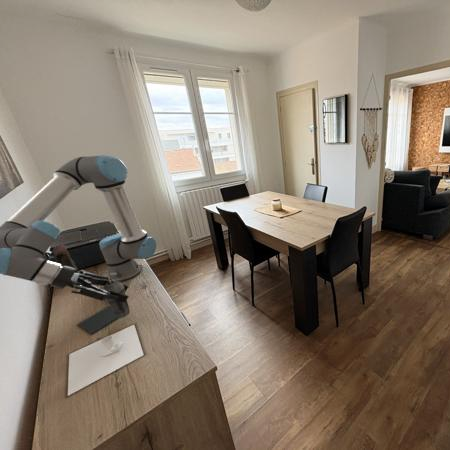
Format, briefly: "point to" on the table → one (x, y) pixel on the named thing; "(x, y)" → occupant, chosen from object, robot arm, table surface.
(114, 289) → the beverage cup
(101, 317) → the mat
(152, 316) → the table surface
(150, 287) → the table surface
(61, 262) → the statue
